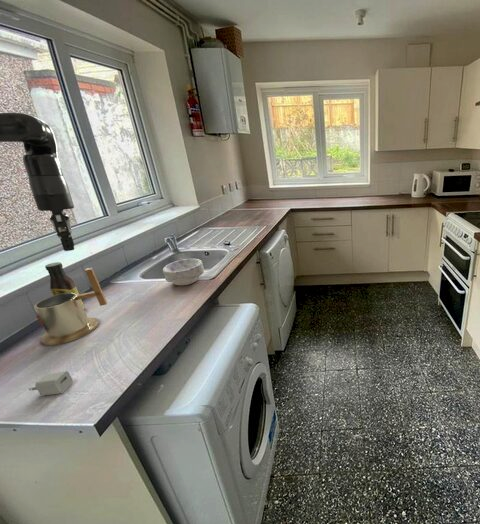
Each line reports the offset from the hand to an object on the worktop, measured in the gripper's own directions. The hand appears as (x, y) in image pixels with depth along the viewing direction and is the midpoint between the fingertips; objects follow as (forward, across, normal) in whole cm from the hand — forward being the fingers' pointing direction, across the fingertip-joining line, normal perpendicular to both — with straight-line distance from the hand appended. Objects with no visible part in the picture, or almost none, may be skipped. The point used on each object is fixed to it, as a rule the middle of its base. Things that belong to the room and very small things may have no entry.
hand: (69, 248), depth 86 cm
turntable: (+28, -7, -6) cm, 29 cm away
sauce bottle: (+27, -22, -5) cm, 35 cm away
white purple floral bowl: (+24, -20, +33) cm, 45 cm away
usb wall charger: (+31, +23, -10) cm, 40 cm away
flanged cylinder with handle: (+27, -7, -3) cm, 28 cm away
